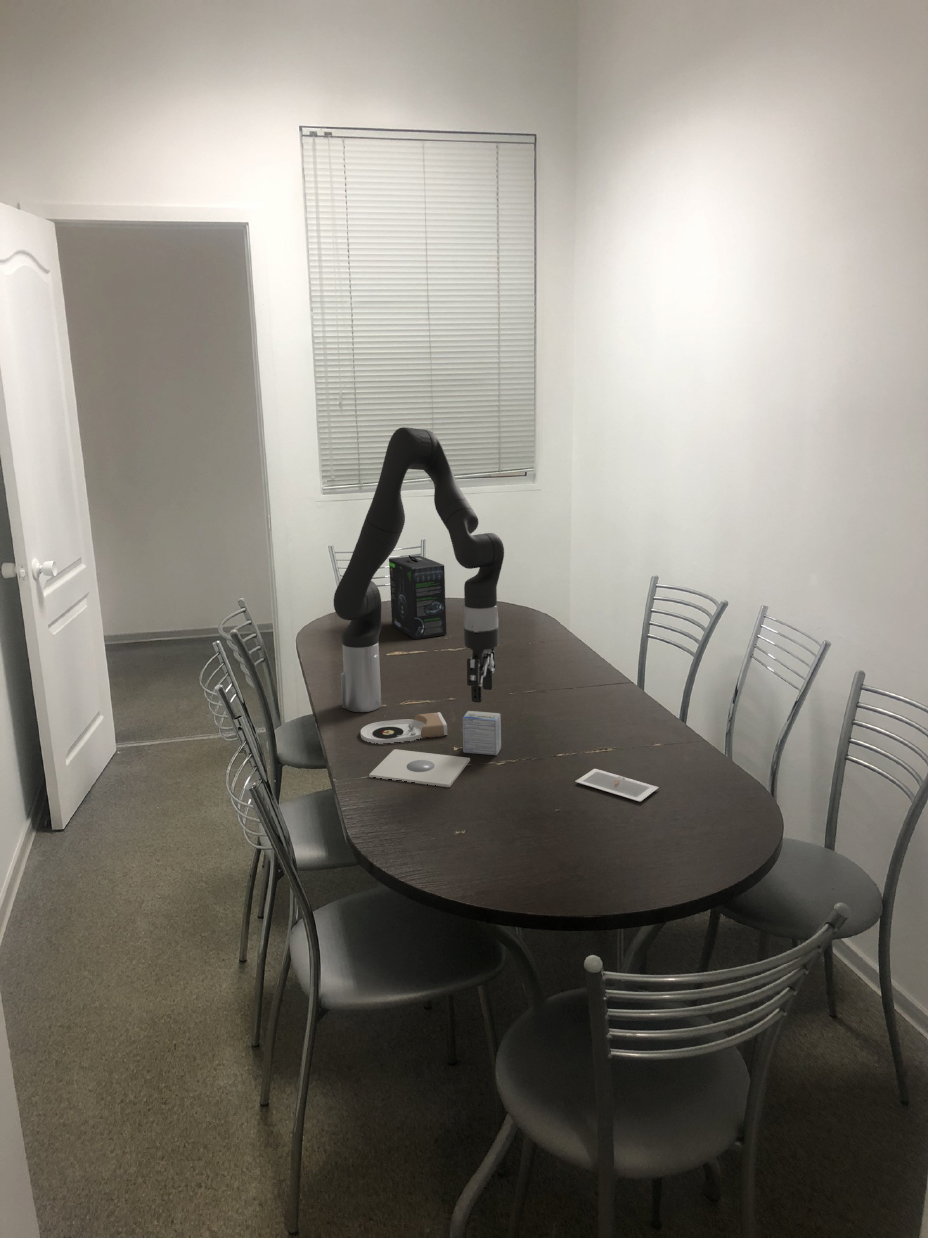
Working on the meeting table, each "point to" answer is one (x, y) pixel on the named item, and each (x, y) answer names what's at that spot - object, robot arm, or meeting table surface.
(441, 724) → the record player
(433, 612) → the headset box
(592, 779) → the touchpad
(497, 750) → the medicine box
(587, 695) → the meeting table surface
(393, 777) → the white pad
